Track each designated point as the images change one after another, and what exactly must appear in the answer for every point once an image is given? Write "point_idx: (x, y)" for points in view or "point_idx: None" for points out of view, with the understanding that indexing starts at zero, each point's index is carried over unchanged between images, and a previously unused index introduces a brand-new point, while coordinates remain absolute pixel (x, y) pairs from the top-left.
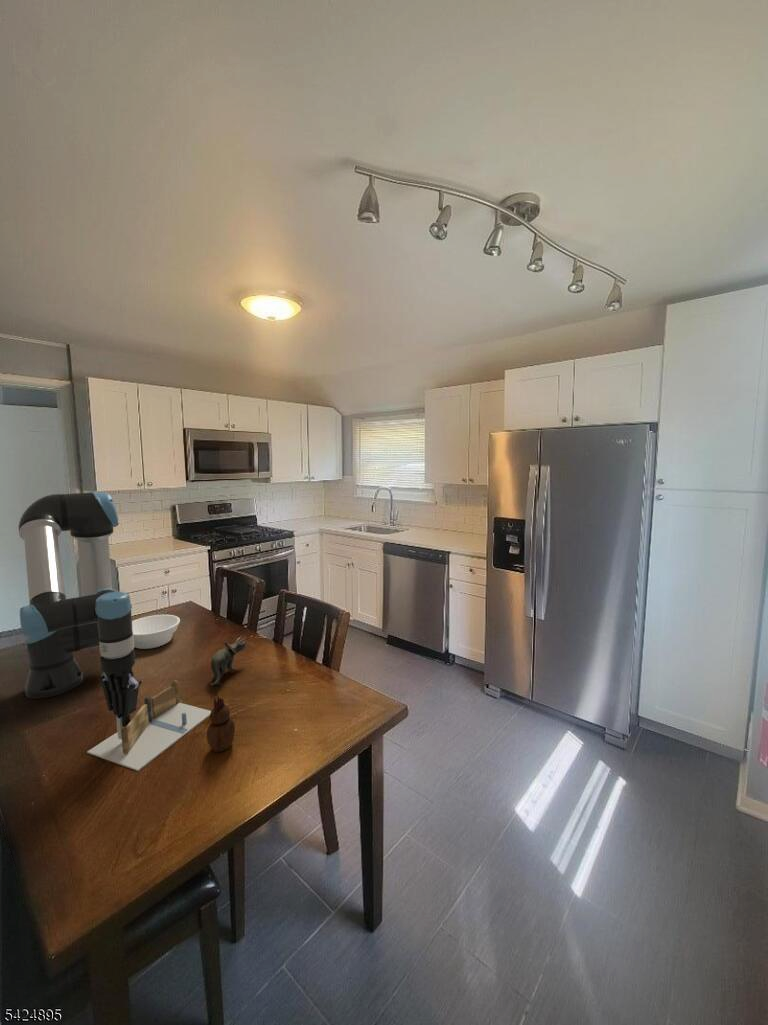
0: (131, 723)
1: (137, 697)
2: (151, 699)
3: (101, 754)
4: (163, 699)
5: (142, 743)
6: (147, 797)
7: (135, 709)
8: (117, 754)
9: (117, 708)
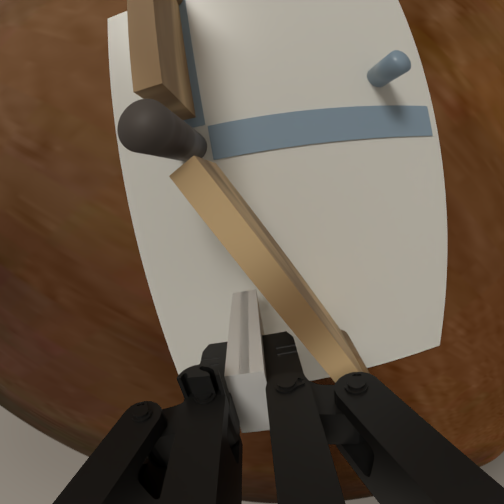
0: (340, 357)
1: (471, 463)
2: (143, 94)
3: None
4: (168, 32)
5: (341, 269)
6: (501, 357)
7: (378, 385)
8: (309, 356)
9: (240, 465)
